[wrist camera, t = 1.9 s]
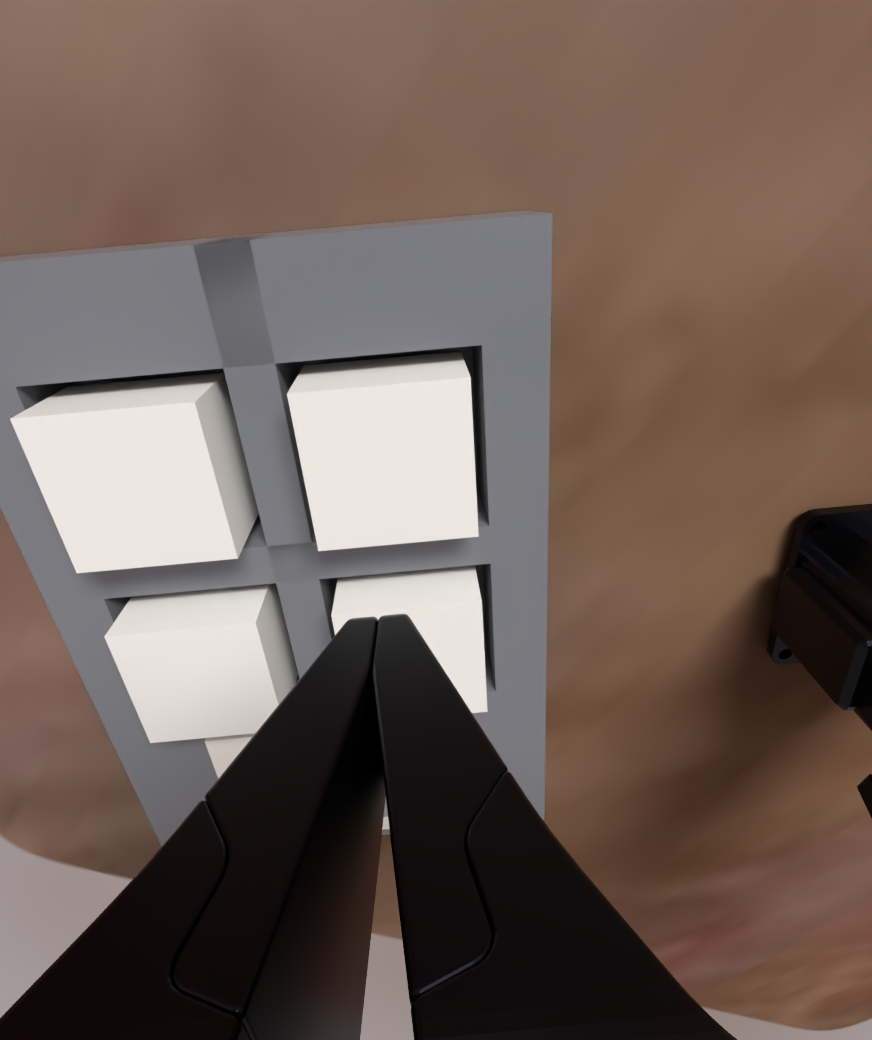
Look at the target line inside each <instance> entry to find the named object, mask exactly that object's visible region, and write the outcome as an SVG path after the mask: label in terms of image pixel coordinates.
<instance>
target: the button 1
mask: <svg viewBox="0 0 872 1040" xmlns="http://www.w3.org/2000/svg"><path fill="white" fill-rule="evenodd" d="M10 420H11V423H12V425H13V427H14V430H15V432H16V434H17V437H18V439H19V441H20V443H21V446H22V448H23V450H24V453H25V455H26V457H27V460H28V462H29V464H30V467H31V469H32V471H33V473H34V476H35V478H36V480H37V483H38V485H39V487H40V490H41V492H42V494H43V497H44V499H45V501H46V504H47V506H48V508H49V510H50V513H51V515H52V517H53V520H54V522H55V524H56V527H57V529H58V531H59V534H60V536H61V538H62V540H63V543H64V545H65V547H66V550H67V552H68V554H69V557H70V559H71V561H72V564H73V566H74V568H75V570H76V573H87V572H98V571H109V570H119V569H130V568H141V567H152V566H163V565H174V564H185V563H196V562H207V561H218V560H229V559H238V557H239V555H240V553H241V551H242V549H243V546H244V544H245V542H246V540H247V538H248V536H249V533H250V531H251V529H252V527H253V525H254V523H255V520H256V518H257V516H258V514H259V512H258V507H257V503H256V499H255V495H254V491H253V487H252V483H251V479H250V475H249V471H248V467H247V463H246V459H245V455H244V451H243V447H242V443H241V439H240V434H239V430H238V426H237V422H236V418H235V414H234V410H233V406H232V402H231V398H230V394H229V390H228V386H227V382H226V378H225V374H224V373H216V374H205V375H194V376H182V377H171V378H160V379H149V380H138V381H127V382H116V383H104V384H93V385H82V386H71V387H66V388H64V389H62V390H60V391H59V392H57V393H55V394H53V395H52V396H50V397H48V398H46V399H44V400H43V401H41V402H39V403H37V404H35V405H34V406H32V407H30V408H28V409H27V410H25V411H23V412H21V413H19V414H18V415H16V416H14V417H12V418H10Z"/></svg>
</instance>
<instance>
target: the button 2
mask: <svg viewBox="0 0 872 1040" xmlns="http://www.w3.org/2000/svg"><path fill="white" fill-rule="evenodd" d="M104 637H105V640H106V642H107V644H108V647H109V649H110V651H111V654H112V656H113V658H114V661H115V663H116V665H117V667H118V670H119V672H120V674H121V677H122V679H123V681H124V684H125V686H126V688H127V691H128V693H129V695H130V698H131V700H132V702H133V704H134V707H135V709H136V711H137V714H138V716H139V718H140V721H141V723H142V725H143V728H144V730H145V732H146V734H147V737H148V739H149V741H150V743H157V742H168V741H179V740H189V739H200V738H211V737H222V736H232V735H243V734H254V733H256V732H257V731H258V730H259V728H260V727H261V726H262V725H263V723H264V722H265V721H266V720H267V718H268V717H269V716H270V715H271V714H272V712H273V711H274V710H275V709H276V707H277V706H278V705H279V704H280V703H281V701H282V700H283V699H284V698H285V696H286V695H287V694H288V693H289V691H290V690H291V689H292V688H293V687H294V685H295V684H296V681H297V676H298V670H297V666H296V662H295V658H294V654H293V650H292V645H291V641H290V637H289V633H288V629H287V625H286V621H285V617H284V613H283V609H282V605H281V601H280V597H279V593H278V589H277V585H276V583H273V584H262V585H251V586H241V587H230V588H219V589H208V590H197V591H186V592H175V593H164V594H153V595H142V596H132V597H131V598H130V600H129V601H128V603H127V604H126V606H125V607H124V609H123V610H122V611H121V613H120V614H119V616H118V617H117V619H116V620H115V622H114V623H113V625H112V626H111V628H110V629H109V630H108V632H107V633H106V635H105V636H104Z"/></svg>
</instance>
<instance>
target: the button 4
mask: <svg viewBox="0 0 872 1040" xmlns="http://www.w3.org/2000/svg"><path fill="white" fill-rule="evenodd" d="M394 614H407V615H408V616H409V617H410V619H411V620H412V622H413V623H414V625H415V626H416V628H417V629H418V631H419V632H420V634H421V635H422V637H423V639H424V640H425V642H426V643H427V645H428V646H429V648H430V649H431V651H432V652H433V654H434V656H435V657H436V659H437V660H438V662H439V663H440V665H441V666H442V668H443V669H444V671H445V672H446V674H447V676H448V677H449V679H450V680H451V682H452V683H453V685H454V686H455V688H456V689H457V691H458V692H459V694H460V696H461V697H462V699H463V700H464V702H465V703H466V705H467V706H468V708H469V709H470V711H471V713H480V712H488V711H487V691H486V671H485V651H484V631H483V612H482V599H481V594H480V589H479V584H478V579H477V574H476V569H475V565H470V566H459V567H448V568H437V569H426V570H415V571H404V572H393V573H382V574H372V575H361V576H350V577H339V578H338V579H337V585H336V591H335V597H334V603H333V608H332V614H331V617H332V622H333V627H334V632H335V635H336V634H337V633H338V631H339V630H340V629H341V628H342V626H343V625H344V624H345V623H346V622H347V621H348V620H349V619H352V618H362V617H376V618H377V619H378V620H379V618H380V617H381V616H384V615H394Z"/></svg>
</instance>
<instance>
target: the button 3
mask: <svg viewBox="0 0 872 1040" xmlns="http://www.w3.org/2000/svg"><path fill="white" fill-rule="evenodd" d="M287 397H288V402H289V407H290V412H291V417H292V422H293V427H294V432H295V437H296V442H297V447H298V452H299V457H300V462H301V467H302V472H303V477H304V482H305V487H306V492H307V497H308V502H309V507H310V512H311V517H312V522H313V527H314V532H315V537H316V542H317V547H318V551H327V550H338V549H349V548H360V547H371V546H382V545H393V544H404V543H415V542H426V541H437V540H448V539H459V538H470V537H479V532H478V513H477V493H476V473H475V453H474V433H473V414H472V394H471V377H470V374H469V372H468V369H467V366H466V364H465V361H464V358H463V356H462V353H461V352H450V353H439V354H428V355H417V356H405V357H394V358H383V359H372V360H361V361H350V362H339V363H327V364H316V365H305V366H303V368H302V369H301V371H300V373H299V374H298V376H297V378H296V379H295V381H294V383H293V384H292V386H291V388H290V389H289V391H288V393H287Z"/></svg>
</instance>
